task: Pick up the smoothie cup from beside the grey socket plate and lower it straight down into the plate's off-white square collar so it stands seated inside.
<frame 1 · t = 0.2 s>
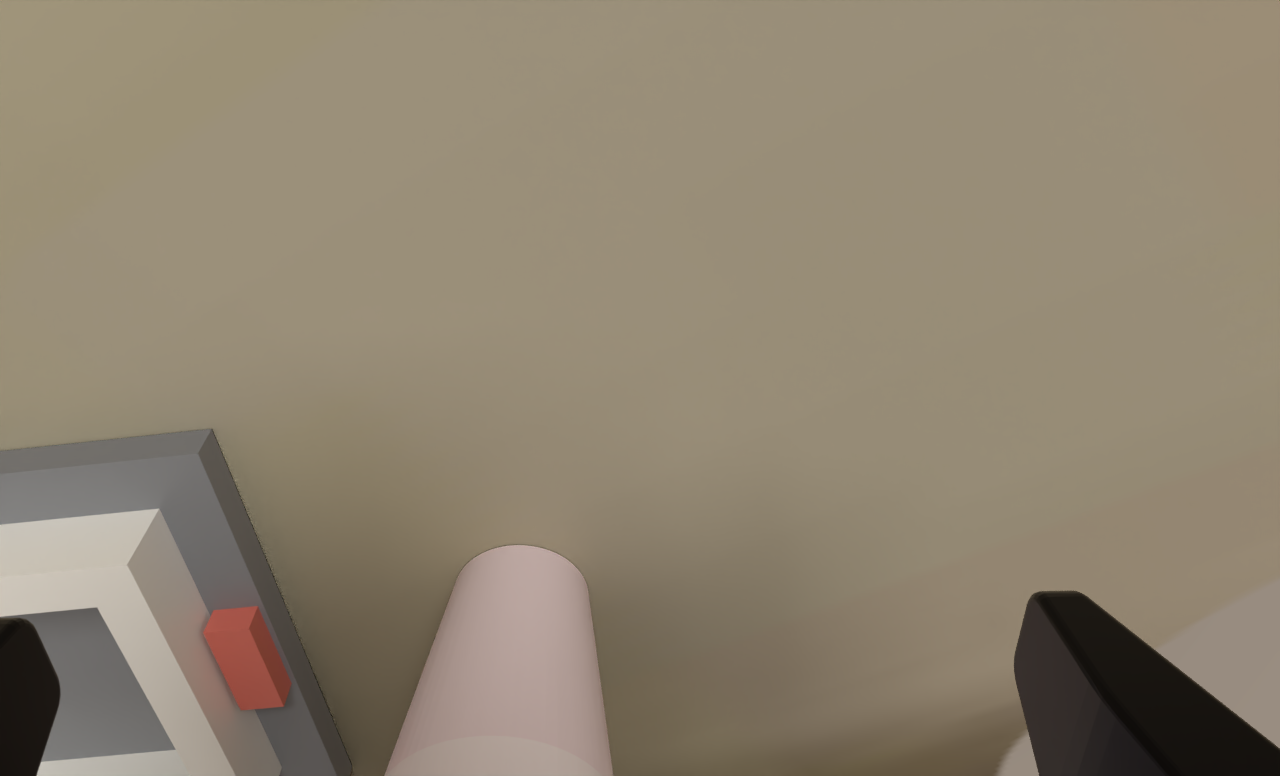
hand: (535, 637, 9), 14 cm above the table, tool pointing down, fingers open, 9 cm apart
socket plate: (64, 639, 29), on the table
smoothie: (522, 590, 29), on the table
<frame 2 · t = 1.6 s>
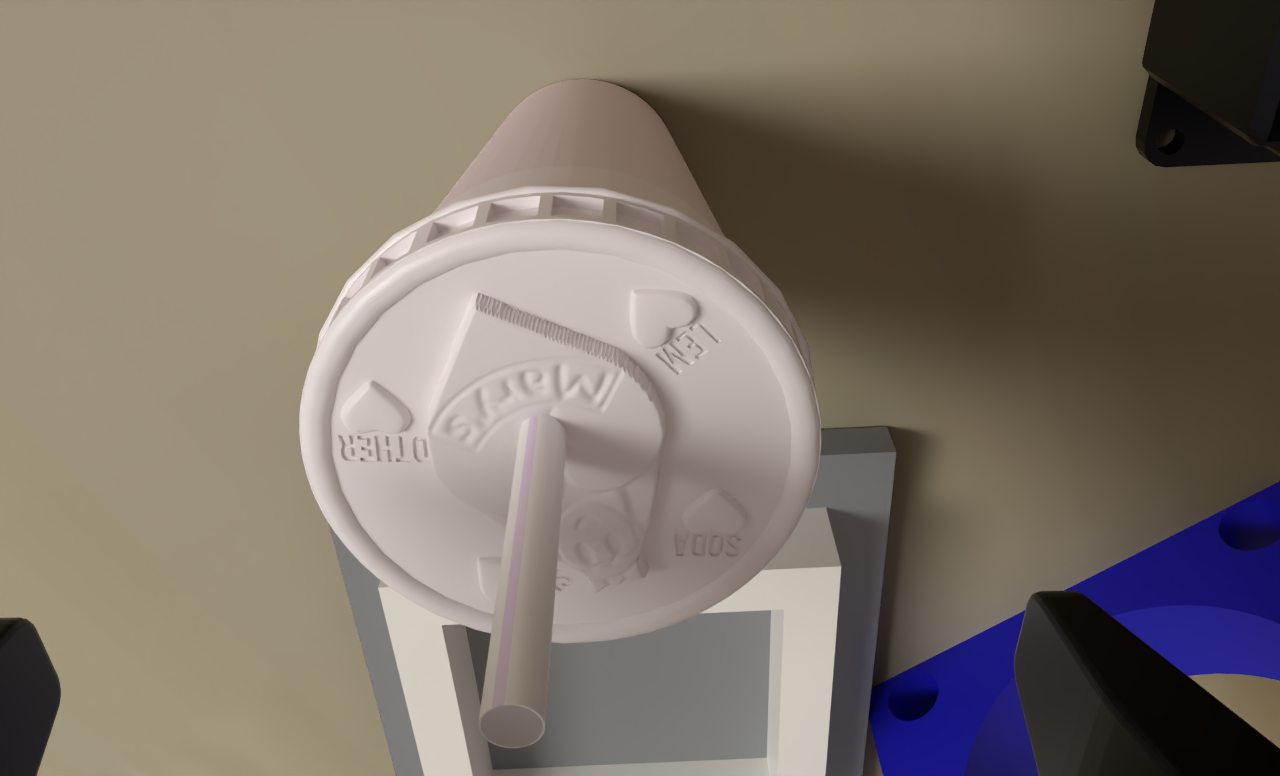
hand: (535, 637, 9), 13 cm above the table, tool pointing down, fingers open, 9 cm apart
socket plate: (621, 639, 28), on the table
cable clip: (1091, 629, 28), on the table
smoothie: (585, 168, 21), on the table
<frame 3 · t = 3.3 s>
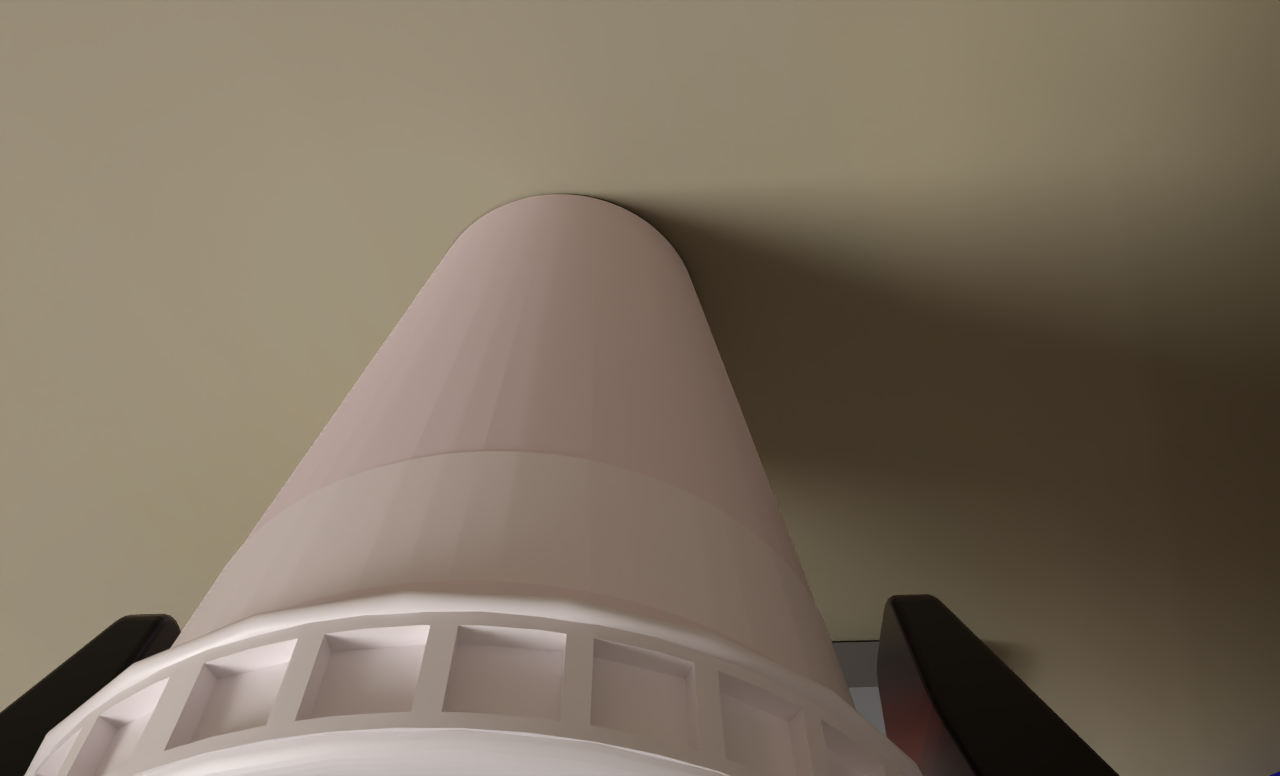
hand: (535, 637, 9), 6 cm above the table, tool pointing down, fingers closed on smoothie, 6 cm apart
smoothie: (566, 312, 15), on the table, touching gripper
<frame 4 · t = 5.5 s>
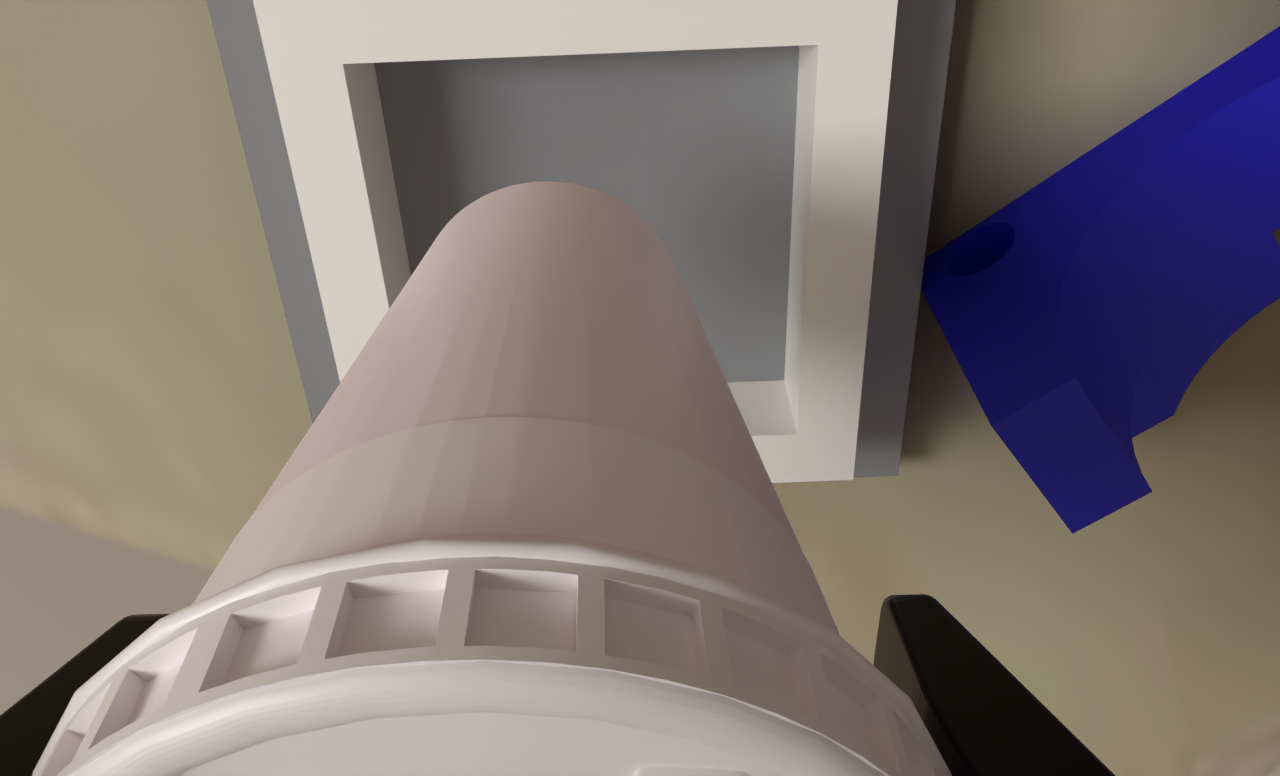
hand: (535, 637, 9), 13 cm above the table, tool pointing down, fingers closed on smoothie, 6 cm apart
socket plate: (598, 203, 21), on the table
cable clip: (1215, 171, 21), on the table
smoothie: (551, 298, 15), point 7 cm above the table, touching gripper
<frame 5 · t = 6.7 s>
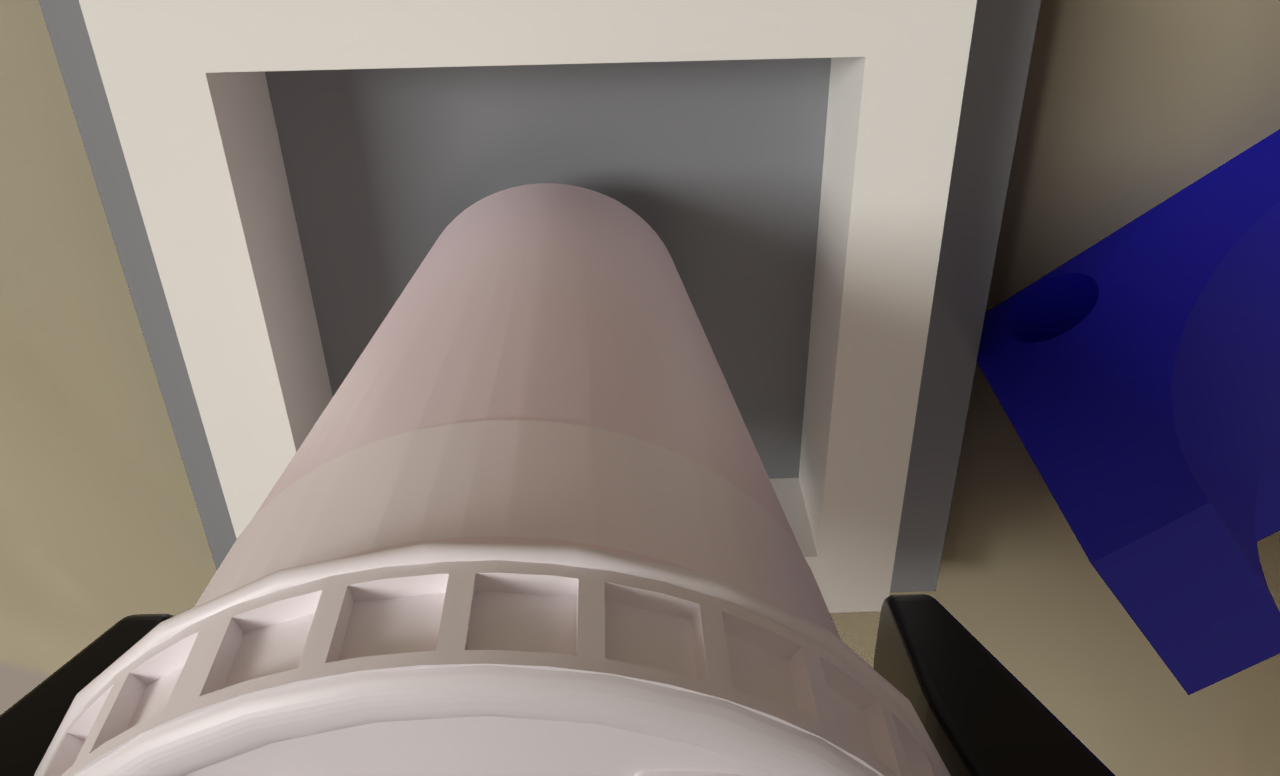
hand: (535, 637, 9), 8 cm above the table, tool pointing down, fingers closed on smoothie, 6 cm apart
socket plate: (565, 255, 17), on the table
smoothie: (552, 300, 15), point 2 cm above the table, touching gripper
when the fingers open (8 cm above the table, at t = 7.7 s): smoothie stays where it is, resting on socket plate.
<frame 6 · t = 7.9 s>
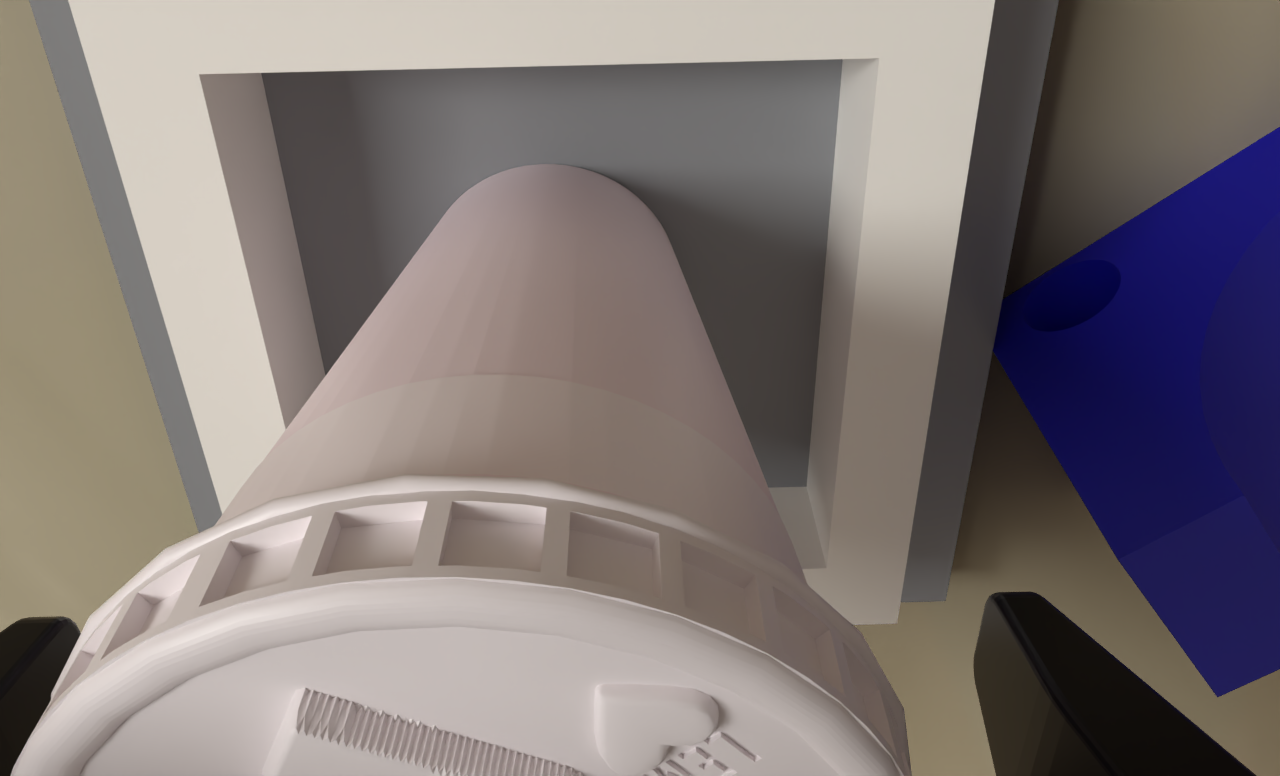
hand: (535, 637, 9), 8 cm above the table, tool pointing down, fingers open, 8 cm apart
socket plate: (569, 259, 16), on the table
smoothie: (553, 278, 16), point 1 cm above the table, touching socket plate
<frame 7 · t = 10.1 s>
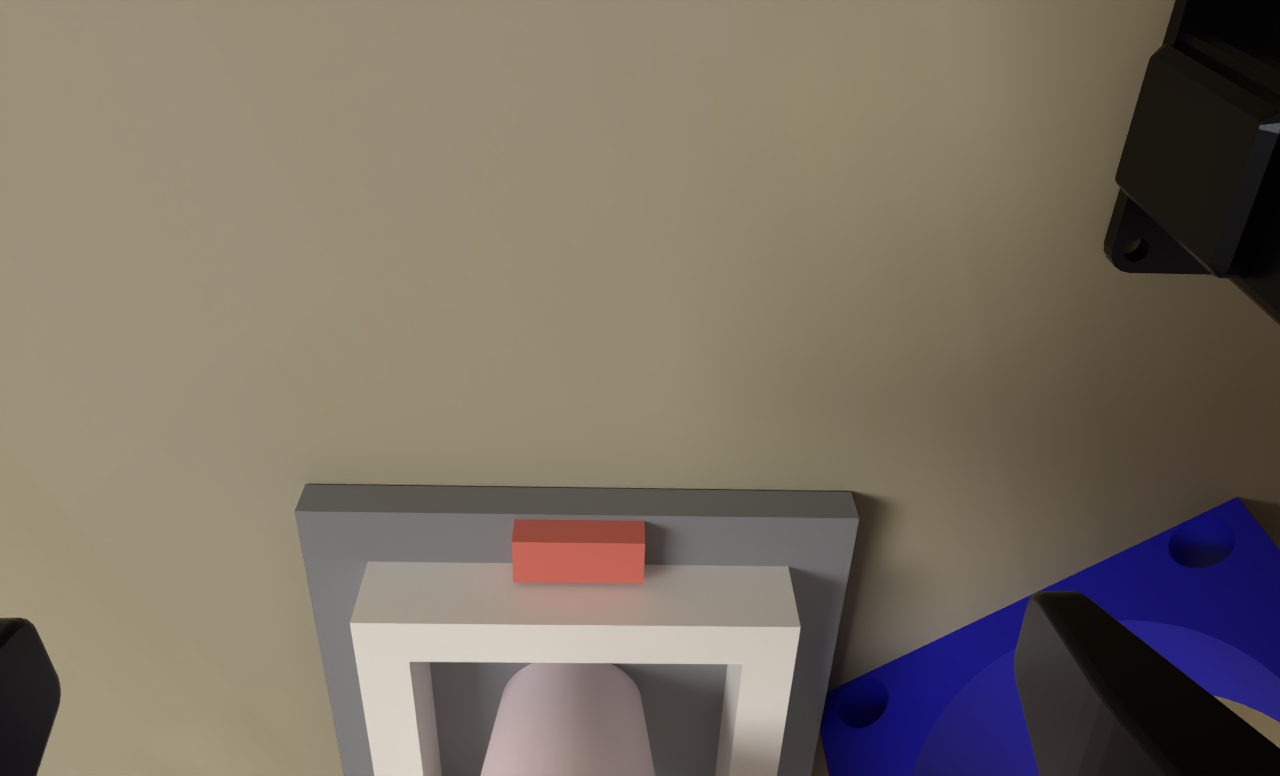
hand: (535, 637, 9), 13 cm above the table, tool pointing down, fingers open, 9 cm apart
socket plate: (580, 677, 28), on the table
cable clip: (1041, 642, 29), on the table
smoothie: (571, 698, 28), point 1 cm above the table, touching socket plate
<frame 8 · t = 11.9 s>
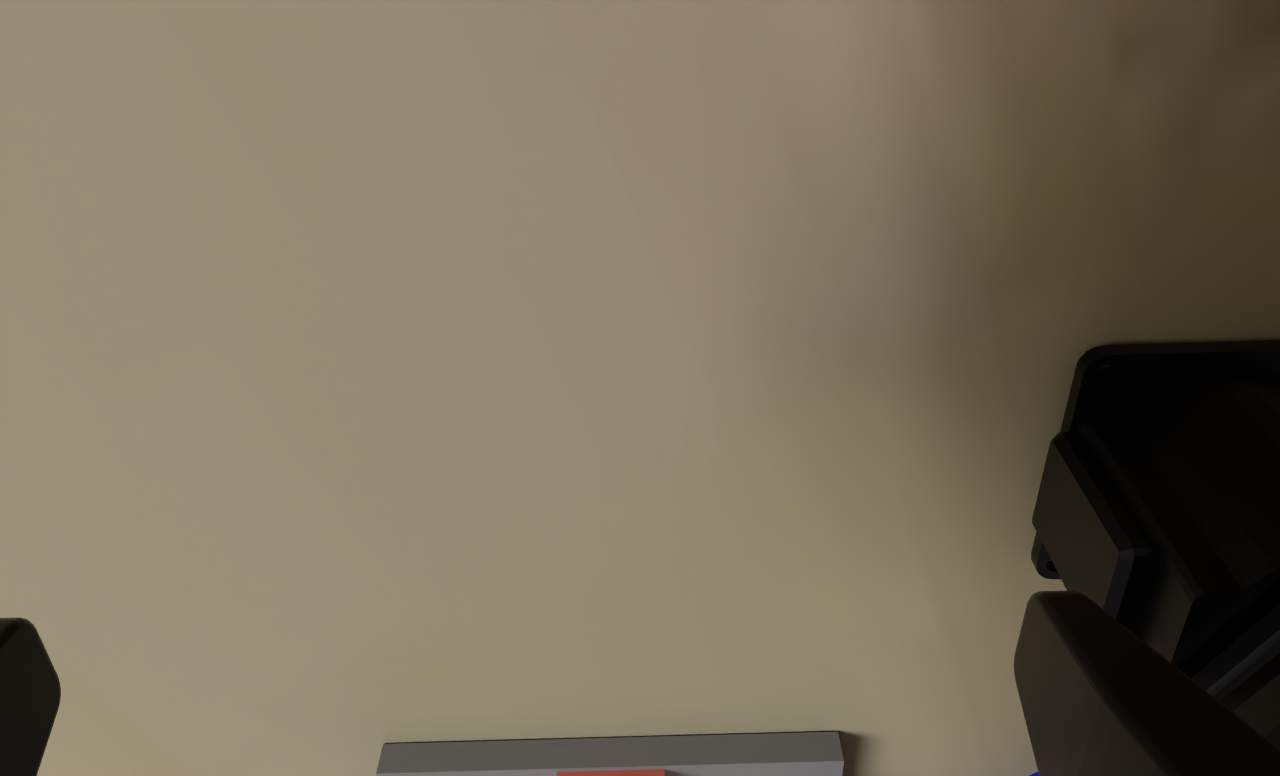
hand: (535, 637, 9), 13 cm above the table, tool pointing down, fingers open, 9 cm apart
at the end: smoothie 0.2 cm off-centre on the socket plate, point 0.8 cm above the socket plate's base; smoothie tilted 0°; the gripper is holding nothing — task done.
